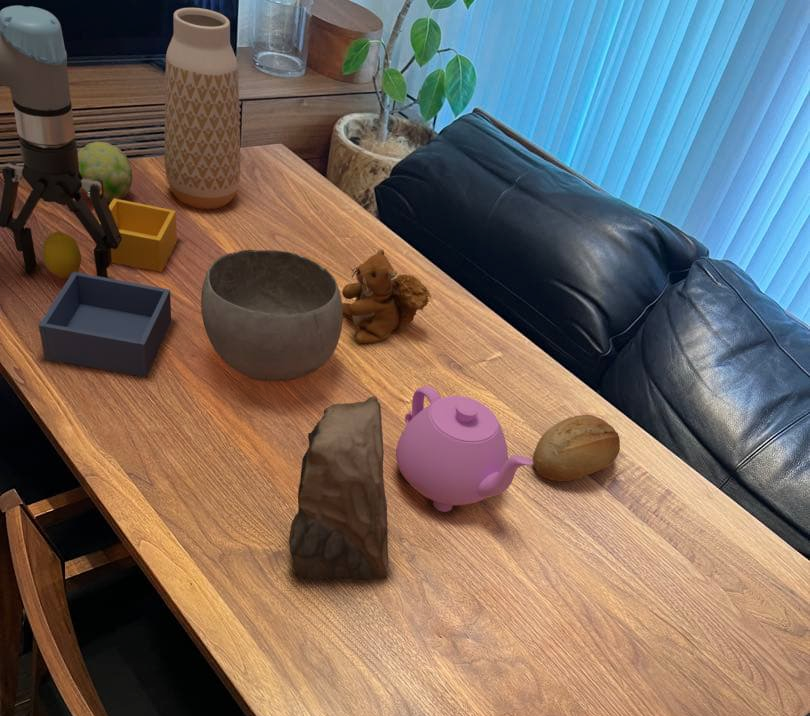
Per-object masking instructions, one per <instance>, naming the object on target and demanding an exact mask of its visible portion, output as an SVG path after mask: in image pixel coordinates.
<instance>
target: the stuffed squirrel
mask: <svg viewBox="0 0 810 716" xmlns="http://www.w3.org/2000/svg"><path fill="white" fill-rule="evenodd" d="M351 272H353V273H352V275H351V278H353V277H354V276H355V275H356V277H355V278H356V280H357V282H354V283H347V284H346V285H344V286H343V288H342V290H341V293H342V296H343V298H345V299H347V300H353V299H354V301H353V302H352V303H348V302H342V306H343V317H346V318H349V319H352V322H353V325H354V326H355V327H356V328H357V329H358V330H357V331H356V335H355V342H357V344H370V343H378V342H382V341H383V340H384V339H385V338H386V337H388V336H389V334H391V332H393V330H396V331H397V330H401V329H403V328H407V326H408V325H410V324H411V323H412V322H413V321H414V317H415V316H416V315H417V311H418V310H419V311H422V312H424V308H425V307H427V306H428V304H429V303H430V300H429V298H430V299H431V298H432V297H433V295H431V293H430V290H428V288H427V286H426V285H425V284H423V283H422V282H421V280H420V279H419V278H417V277H416V276H415V275H411V274H409V275H408V274H406V273H404V274H398V272H397V271H396V270H395V269H394V268H393V266H392V264H391V262H390V261H389V259H388V257H386V255H385V250H384V249H382V248H380V249H378V250H377V252H376V253H375V254H372V255H370V256H369V257H368V258H367V259H366V260H365V261H364V262H363V263H361V264H359V265H358V266H357V267H355V268H353V269H352V270H351Z"/></svg>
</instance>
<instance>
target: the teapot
mask: <svg viewBox="0 0 810 716" xmlns="http://www.w3.org/2000/svg"><path fill="white" fill-rule="evenodd" d="M425 398H426V399H427V400H428V402H429V405H427V406H425ZM424 406H425V408H424ZM404 422H405V425H406V426H405V428H404V429H403V430H402V431H401V432H402V433H401V434H400V436H399V439H398V441H397V445H396V448H395V460H396V464H397V467H398V469H399V471H400V474H401V475H402V477H403V478H404V479H405V480H406V482H407V483H409V485H410V486H411V487H412V488H413V489H414V490H415V491H417V493H419V494H421V495H422V496H423V497H425V498H427V499H428V500H430V501H432V503H433V504H432V505H433V507H434V508H435V509H436V510H438V511H440V512H444V513H445V512H450V511H451V510H452V509H453V506H466V505H471V504H475V503H478V502H481V501H483V500H486V499H488V498H492V497H495V496H499V495H501V494H502V493H504V492H505V491H506V490H508V489H509V487H510V486H511V485H512V482H513V480H514V478H515V475H516V472H517V471H518V469H519V468H520V467H523V466H531V465H534V462H533V460H531V459H530V458H528V457H526V456H523V455H512V456H510V457H509V451H508V445H507V440H506V437H505V434H504V430H503V428H502V426H501V424H500V422H499V420H498V418H497V416H496V415H495V413H494V412H493V411H492V409H490V408H489V407H488V406H486V405H485V404H484V403H482V402H480V401H479V400H476V399H474V398H470V397H467V396H462V395H449V396H444V397H441V395H440V394H439V392H438V391H437V390H436V389H435V388H433V387H431V386H428V385H427V386H426V385H425V386H424V385H423V386H420V387H418V388H417V389H416V390H415V391H414V393H413V395H412V401H411V410H410V411H408V412H406V414H405V416H404Z"/></svg>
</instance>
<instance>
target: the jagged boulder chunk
mask: <svg viewBox="0 0 810 716" xmlns="http://www.w3.org/2000/svg"><path fill="white" fill-rule="evenodd" d="M381 410H382V406H381V403H380V402H379V401H378V398H377V396H375V395H373V396H370V397H369V398H367V399H366V400H364V401H357V402H350V403H349V402H348V403H345V402H344V403H335V404H331V405H329V406H327V407H326V408H325V409H323V415H322V417H321V419H320V420H318V421H317V422H316V425H315V426H314V427H313V429H312V431H311V432H308V433H307V439H308V448H307V450H306V452H305V453H304V455H303V457H302V461H301V463H302V464H301V469H300V477H299V478H300V480H299V483H298V484H299V485H298V490H297V491H298V492H297V502H298V503H297V504H298V510H297V513H295V515H294V517H293V520H291V521H292V522H291V525H290V530H289V540H288V544H289V553H290V557H291V559H292V562H293V564H294V566H295V573H294V574H295V576H296V577H297V578H299V579H305V580H317V579H324V578H325V579H327V580H329V581H331V580H335V579H353V580H357V581H362V580H363V581H365V580H369V579H379V578H381V579H382V578H386V577H387V572H386V570H387V568H388V566H389V550H388V549H389V548H388V546H389V545H388V544H389V542H388V540H389V539H388V538H389V537H388V536H389V535H388V533H389V532H388V504H387V503H388V502H387V497H386V491H385V481H384V454H385V452H384V438H383V437H384V435H383V425H382V423H383V421H382V419H383V418H382V411H381Z"/></svg>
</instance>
